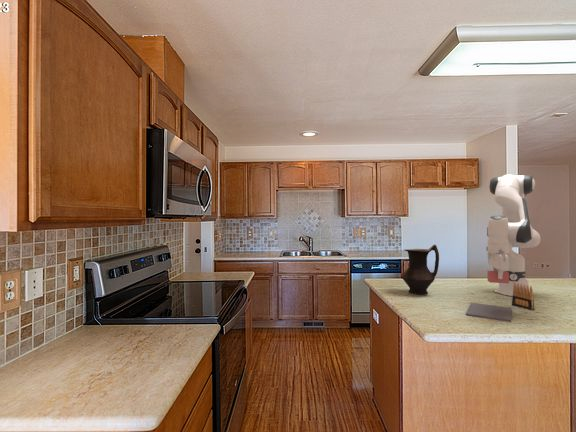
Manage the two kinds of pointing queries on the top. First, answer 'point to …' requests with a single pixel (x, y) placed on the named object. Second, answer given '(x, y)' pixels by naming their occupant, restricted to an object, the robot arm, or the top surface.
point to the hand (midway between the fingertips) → (498, 277)
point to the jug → (420, 270)
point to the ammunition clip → (523, 297)
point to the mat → (489, 311)
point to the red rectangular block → (493, 278)
